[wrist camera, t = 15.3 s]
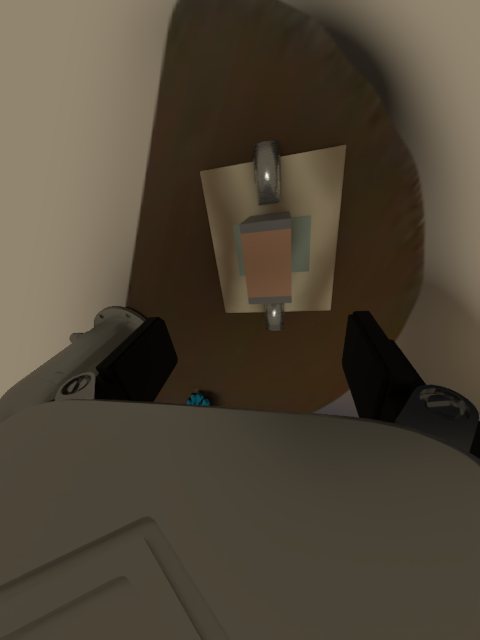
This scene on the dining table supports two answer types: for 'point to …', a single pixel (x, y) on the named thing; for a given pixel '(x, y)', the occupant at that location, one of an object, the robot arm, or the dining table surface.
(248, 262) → the orange and grey block
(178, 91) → the dining table surface
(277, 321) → the shaft angled
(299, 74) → the dining table surface
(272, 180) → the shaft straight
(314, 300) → the base
